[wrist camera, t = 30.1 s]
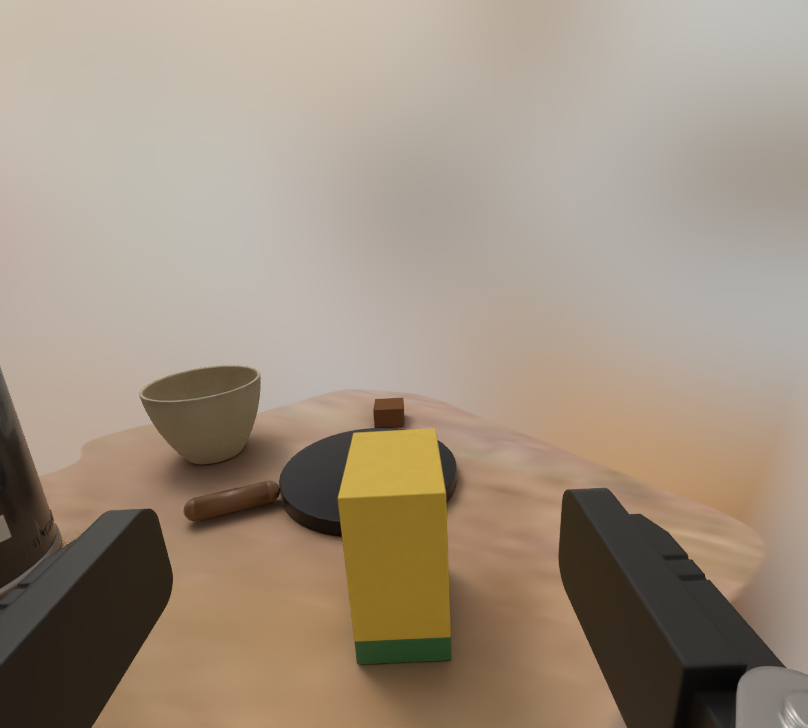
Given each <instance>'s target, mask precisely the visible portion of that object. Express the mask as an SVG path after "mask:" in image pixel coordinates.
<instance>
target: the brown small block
mask: <svg viewBox="0 0 808 728" xmlns="http://www.w3.org/2000/svg"><path fill="white" fill-rule="evenodd" d="M373 411H374V423H375V428H383V427H403V426H404V403H403V398H389V399H375V404H374V410H373Z"/></svg>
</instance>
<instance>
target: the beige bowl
mask: <svg viewBox="0 0 808 728" xmlns="http://www.w3.org/2000/svg"><path fill="white" fill-rule="evenodd" d="M139 396H140V398H141V401H142V403H143V406H144V408H145V410H146V412H147V414H148V416H149V417H150V419H151V421H152V422H153V424H154V425H155V427H156V428H157V430H158V431H159V433H160V434H161V435H162V436H163V438H164V439H165V440H166V441H167V442H168V443H169V444H170V445H171V446H172V447H173V448H174V449H175V450H176V451H177V452H178V453H179V454H180V455H181V456H183V457H184V458H185V459H186V460H188V461H189V462H191V463H194V464H212V463H218V462H221V461H225V460H227V459H230V458H232V457H234V456H236V455H237V454H238V453H240V452H241V451H242V449H243V448H244V446H245V444H246V442H247V440H248V438H249V435H250V433H251V430H252V427H253V424H254V421H255V418H256V414H257V409H258V404H259V397H260V372H259V371H258V370H256V369H255V368H252V367H248V366H241V365H224V366H223V365H222V366H211V367H204V368H198V369H193V370H188V371H184V372H180V373H176V374H172V375H169V376H166V377H163V378H160V379H158V380H156V381H153V382H151V383H149V384H148V385H146V386H145V387H143V388H142V389H141V390H140V393H139Z"/></svg>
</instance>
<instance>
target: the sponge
mask: <svg viewBox="0 0 808 728" xmlns="http://www.w3.org/2000/svg"><path fill="white" fill-rule="evenodd" d="M338 506H339V514H340V523H341V531H342V540H343V548H344V557H345V565H346V574H347V582H348V591H349V599H350V608H351V616H352V625H353V633H354V641H355V650H356V658H357V664H378V663H400V662H422V661H444V660H451V631H450V600H449V569H448V538H447V507H446V490H445V484H444V478H443V472H442V466H441V460H440V453H439V447H438V441H437V435H436V429H415V430H396V431H377V432H358V433H353V437H352V441H351V445H350V450H349V454H348V458H347V462H346V466H345V470H344V475H343V479H342V483H341V487H340V491H339V495H338Z"/></svg>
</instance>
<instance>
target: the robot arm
mask: <svg viewBox="0 0 808 728" xmlns="http://www.w3.org/2000/svg"><path fill="white" fill-rule="evenodd" d="M61 541H62V540H61V535H60V532H59V529H58V527H57V525H56V524H55V523H54V519H53V515H52V512H51V510H50V509H49V506H48V503H47V500H46V497H45V495H44V492H43V488H42V485H41V482H40V479H39V477H38V474H37V471H36V468H35V465H34V462H33V460H32V457H31V454H30V451H29V448H28V445H27V442H26V439H25V436H24V434H23V431H22V428H21V425H20V422H19V419H18V416H17V414H16V411H15V408H14V405H13V402H12V399H11V396H10V393H9V391H8V388H7V385H6V382H5V379H4V376H3V373H2V371H1V368H0V728H92V726H93V724H94V723H95V721H96V720H97V718H98V716H99V715H100V713H101V711H102V710H103V708H104V707H105V705H106V703H107V702H108V700H109V698H110V697H111V695H112V694H113V692H114V690H115V689H116V687H117V685H118V684H119V682H120V681H121V679H122V677H123V676H124V674H125V672H126V671H127V669H128V668H129V666H130V664H131V663H132V661H133V659H134V658H135V656H136V655H137V653H138V651H139V650H140V648H141V647H142V645H143V643H144V642H145V640H146V638H147V637H148V635H149V634H150V632H151V630H152V629H153V627H154V625H155V624H156V622H157V621H158V619H159V617H160V616H161V614H162V612H163V611H164V609H165V607H166V605H167V603H168V601H169V598H170V595H171V591H172V584H173V573H172V568H171V565H170V561H169V557H168V553H167V549H166V546H165V542H164V538H163V534H162V530H161V526H160V523H159V519H158V516H157V514H156V513H155V512H154V511H153V510H152V509H131V510H110V511H107V512H105V513H104V514H102V515H101V516H100V517H99V518H98V519H97V520H96V521H95V522H94V523H93V524H92V525H91V526H90V527H89V528H88V529H87V530H86V531H85V532H84V533H83V534H82V535H81V536H80V537H78V538H77V539H75V540H74V541H72V542H71V543H69V544H68V545H66V546H64V547H63V548H61V549H60V546H61ZM59 549H60V550H59ZM559 568H560V574H561V578H562V582H563V585H564V588H565V591H566V593H567V595H568V598H569V600H570V602H571V604H572V606H573V609H574V611H575V613H576V615H577V618H578V620H579V622H580V624H581V626H582V629H583V631H584V633H585V635H586V638H587V640H588V642H589V644H590V646H591V649H592V651H593V653H594V655H595V658H596V660H597V662H598V664H599V666H600V669H601V671H602V673H603V675H604V678H605V680H606V682H607V684H608V686H609V689H610V691H611V693H612V695H613V697H614V700H615V702H616V704H617V706H618V709H619V711H620V713H621V715H622V717H623V720H624V722H625V724H626V726H627V728H808V675H807V674H804V673H801V672H798V671H795V670H792V669H788V668H786V667H785V666H784V665H783V664H782V663H781V661H780V660H779V659H778V658H777V657H776V656H775V655H774V654H773V652H772V651H771V650H770V649H769V648H768V646H767V645H766V644H765V643H764V642H763V641H762V639H761V638H759V636H758V635H757V634H756V633H755V631H754V630H753V629H752V628H751V627H750V626H749V625H748V624H747V622H746V621H745V620H744V619H743V618H742V617H741V615H740V614H739V613H738V612H737V611H736V610H735V609H734V607H733V606H732V605H731V604H730V603H729V602H728V600H727V599H726V598H725V597H724V596H723V595H722V594H721V592H720V591H719V590H718V589H717V588H716V587H715V586H714V584H713V583H712V582H711V581H710V580H706V578H705V574H704V573H703V572H702V571H701V569H700V568H699V567H698V566H697V565H696V564H695V563H694V561H693V560H689V559H688V555H687V553H686V552H685V551H684V550H683V549H682V548H681V546H680V545H679V544H678V543H677V542H676V541H675V540H674V538H673V537H672V536H671V535H670V534H669V533H668V532H667V531H666V530H664V529H663V528H661V527H660V526H658V525H656V524H655V523H653V522H652V521H650V520H649V519H647V518H646V517H644V516H643V515H641V514H628V512H627V511H626V510H625V509H624V507H623V506H622V505H621V504H620V502H619V501H618V500H617V499H616V497H615V496H614V495H613V493H612V492H611V491H610V490H609V489H607V488H593V489H572V490H566V491H565V492H564V494H563V499H562V512H561V526H560V541H559Z"/></svg>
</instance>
